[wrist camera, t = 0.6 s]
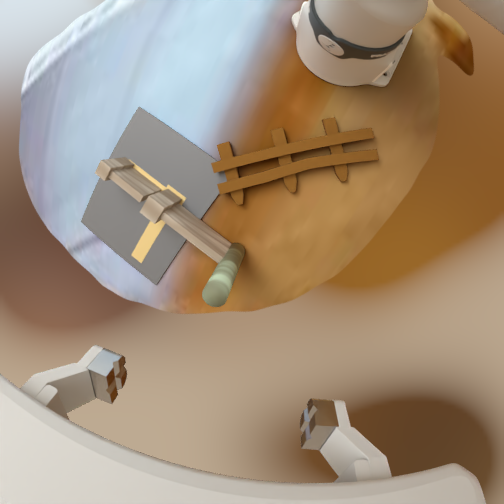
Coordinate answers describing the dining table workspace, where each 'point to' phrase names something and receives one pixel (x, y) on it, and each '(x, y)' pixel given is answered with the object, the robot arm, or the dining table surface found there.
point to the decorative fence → (286, 164)
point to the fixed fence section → (127, 178)
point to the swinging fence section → (199, 242)
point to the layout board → (128, 208)
